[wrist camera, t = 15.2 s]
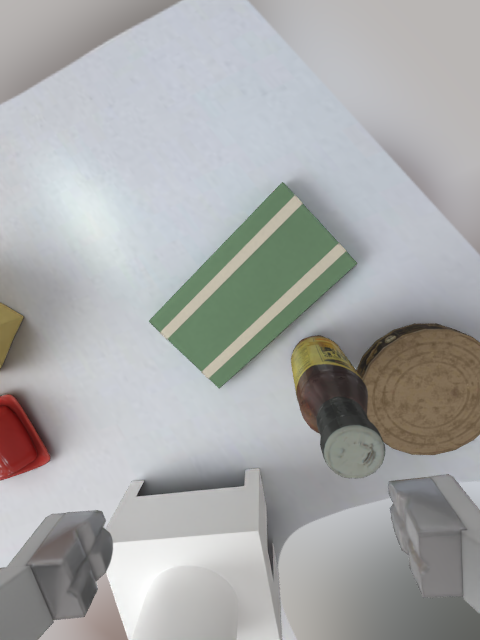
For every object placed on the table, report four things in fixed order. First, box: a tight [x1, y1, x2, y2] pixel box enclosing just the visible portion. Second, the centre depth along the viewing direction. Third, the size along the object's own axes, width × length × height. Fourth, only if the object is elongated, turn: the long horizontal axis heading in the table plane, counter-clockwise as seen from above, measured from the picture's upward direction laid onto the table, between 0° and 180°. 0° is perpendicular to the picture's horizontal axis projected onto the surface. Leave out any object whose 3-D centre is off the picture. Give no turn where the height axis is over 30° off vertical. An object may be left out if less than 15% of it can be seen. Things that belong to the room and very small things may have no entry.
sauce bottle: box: [291, 335, 385, 479], centre depth 31 cm, size 6×6×20 cm
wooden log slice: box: [356, 324, 480, 455], centre depth 39 cm, size 16×16×3 cm
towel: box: [149, 182, 357, 388], centre depth 38 cm, size 22×12×2 cm, turn 135°
